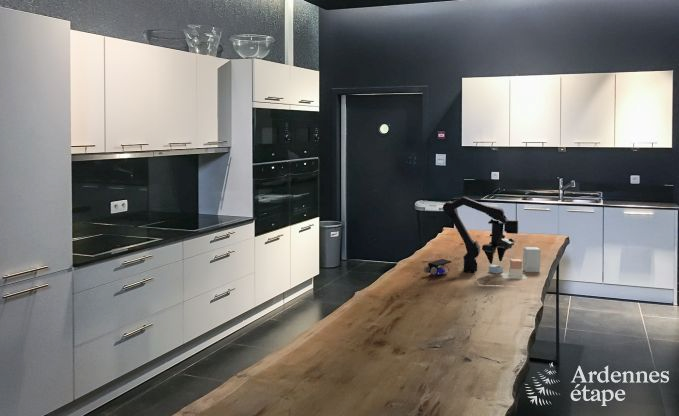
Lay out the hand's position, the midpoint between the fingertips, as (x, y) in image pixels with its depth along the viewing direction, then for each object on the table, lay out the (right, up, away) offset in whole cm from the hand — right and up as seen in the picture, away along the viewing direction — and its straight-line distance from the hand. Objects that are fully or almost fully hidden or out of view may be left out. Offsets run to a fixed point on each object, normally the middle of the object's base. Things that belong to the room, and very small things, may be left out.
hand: (495, 262), depth 345 cm
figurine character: (-31, -6, -5) cm, 32 cm away
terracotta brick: (+8, -2, -8) cm, 12 cm away
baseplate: (+7, -7, -8) cm, 13 cm away
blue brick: (0, -6, +1) cm, 6 cm away
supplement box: (+20, -6, +6) cm, 21 cm away
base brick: (+8, -6, -7) cm, 13 cm away
